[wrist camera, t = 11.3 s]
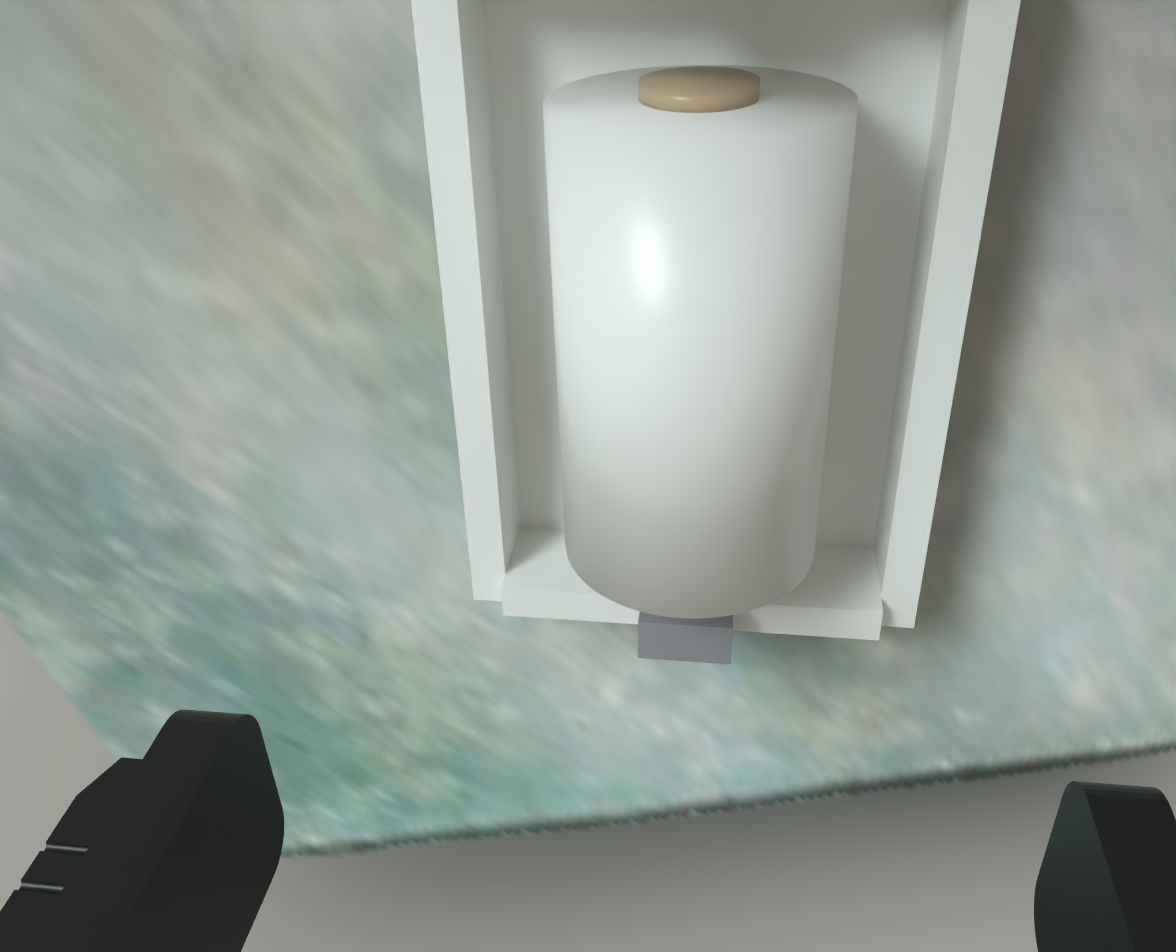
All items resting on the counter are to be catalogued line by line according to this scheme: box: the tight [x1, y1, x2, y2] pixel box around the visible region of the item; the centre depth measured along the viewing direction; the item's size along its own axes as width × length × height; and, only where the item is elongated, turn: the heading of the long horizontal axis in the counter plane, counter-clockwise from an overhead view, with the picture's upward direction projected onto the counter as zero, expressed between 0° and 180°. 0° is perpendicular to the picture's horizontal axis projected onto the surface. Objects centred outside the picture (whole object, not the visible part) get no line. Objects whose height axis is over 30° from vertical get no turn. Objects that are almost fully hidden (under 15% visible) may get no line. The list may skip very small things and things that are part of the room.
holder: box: [411, 0, 1021, 664], centre depth 22 cm, size 14×10×4 cm
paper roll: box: [543, 65, 859, 619], centre depth 21 cm, size 10×5×5 cm, turn 2°
